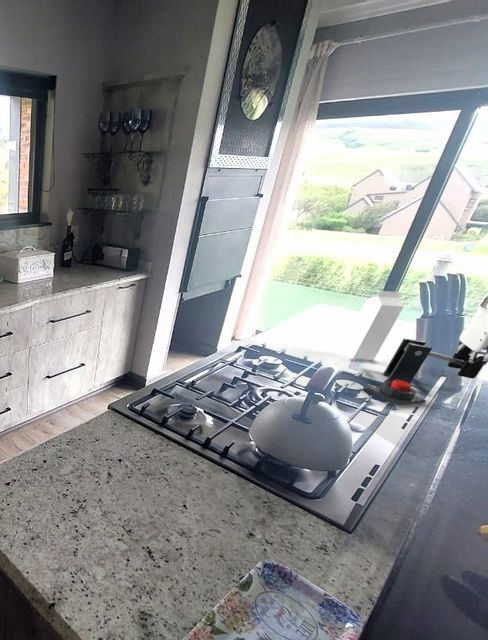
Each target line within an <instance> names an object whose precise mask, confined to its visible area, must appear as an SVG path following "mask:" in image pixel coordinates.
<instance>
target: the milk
mask: <svg viewBox="0 0 488 640" xmlns="http://www.w3.org/2000/svg"><path fill="white" fill-rule="evenodd" d="M402 294H403V293H402V292H398V291H387V290H386V291H385V290H381V291H379V292H378V294H377V295H375V296H372V297H367V299H366V301H365V303H364V305H363V307H362V308H361V311H360V312H359V314H358V317H357V318H356V320H355V322H354V324H353V327H352V328H351V330H350V332H349V334H348V336H347V338H346V340H345V342H344V344H343V346H342V347H341V350H340V351H341V352H342V353H344V354H345V355H347V356H348V357H349V358H351V359H353V360H363V361H364V360H365V361H375V359H376V357H377V355H378V353H379V351H380V349H381V348H382V346H383V344H384V343H385V341H386V339H387V337H388V336H389V334H390V332H391V331H392V329H393V327H394V326H395V323H396V322H397V319H398V318H399V316H400V314H401V313H402V311H403V309H404V307H405V305H404V304H403V301H402V300H401V296H402Z"/></svg>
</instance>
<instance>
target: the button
mask: <svg viewBox="0 0 488 640" xmlns="http://www.w3.org/2000/svg"><path fill="white" fill-rule="evenodd" d="M391 387H393V388H395V389H397V390H400V391H406V392H407V391H408V390H409V388H410V387H411V388H412V384H411V383H410V384H409V383H408V382H405V381H402V380H394V381H393V382H392V384H391Z"/></svg>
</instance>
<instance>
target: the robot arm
mask: <svg viewBox="0 0 488 640" xmlns="http://www.w3.org/2000/svg"><path fill="white" fill-rule="evenodd" d="M477 308H478V310H477V311H476V312H475V313H474V315H473V316H472V317H471V319H469V321H468V322H467V324H466V326H465V327H464V328H463V330H462V332H461V334H460V336H459V342H458V347H456V349H455V352H454V353H453V355H452V357H453V358H456V359H458V358H460V357H463V358H464V359H466V360H467V361H468V362H467V361H466V362H465V363H464V365H463V366H462V365H460V364H456V363H453V362H449V361H448V363H447V367H449V368H452V369H458V370H459V371H458V373H457V376H458V377H461V378H462V377H463V378H467V379H476V377H477V376H478V374H479V373H480V372H481V370H482V369H483V367H485V366H486V365H487V364H488V292H487V293H486V295H485V296H484V297H483V299H482V301H481V302H480V303H479V306H478V307H477ZM483 350H484V351H483ZM485 351H486V352H485ZM478 355H479V356H478Z"/></svg>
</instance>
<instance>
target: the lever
mask: <svg viewBox="0 0 488 640" xmlns="http://www.w3.org/2000/svg"><path fill="white" fill-rule="evenodd" d="M409 343H410V344H414V343H411V342H409ZM408 345H409V344H408ZM408 345H407V346H406V347H405V349H404V351H405V350H406V348H407V347H408ZM416 345H418V344H416ZM427 357H432V358H436V359H438V360H443V361H446V362H448V363H449V362H453V363H456V364H460V365H462V366H463V365H464V363H465V362H466V361H467V360H466V359H464V358H463V357H460V358H458V359H456V358H453V356H449V355H445V354H441V353H438V352H434V351H432V350H431V351H430V353H429V354H428V356H427ZM467 362H468V361H467Z"/></svg>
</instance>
